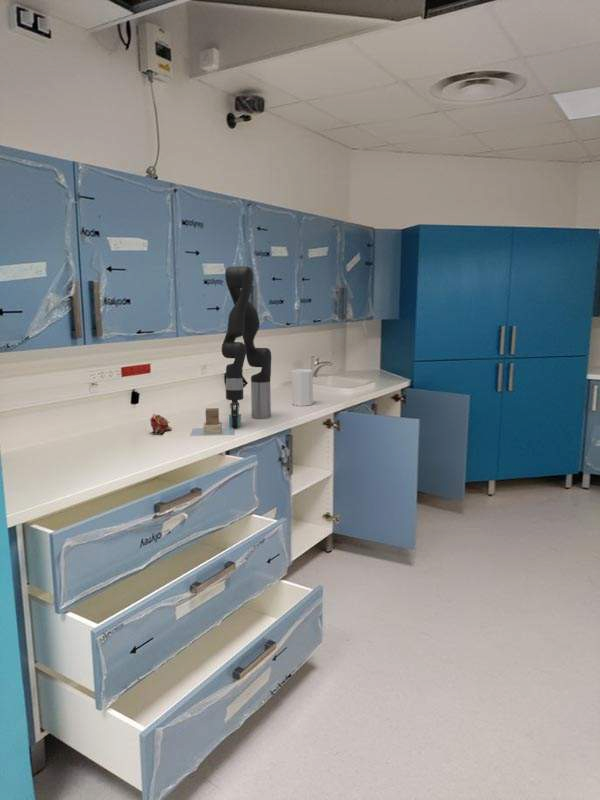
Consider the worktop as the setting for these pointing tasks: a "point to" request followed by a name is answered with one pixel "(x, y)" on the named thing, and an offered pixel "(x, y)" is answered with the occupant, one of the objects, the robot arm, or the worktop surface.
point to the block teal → (237, 420)
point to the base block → (212, 429)
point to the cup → (302, 387)
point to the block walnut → (212, 416)
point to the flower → (159, 424)
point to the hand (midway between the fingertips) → (235, 426)
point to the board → (201, 433)
